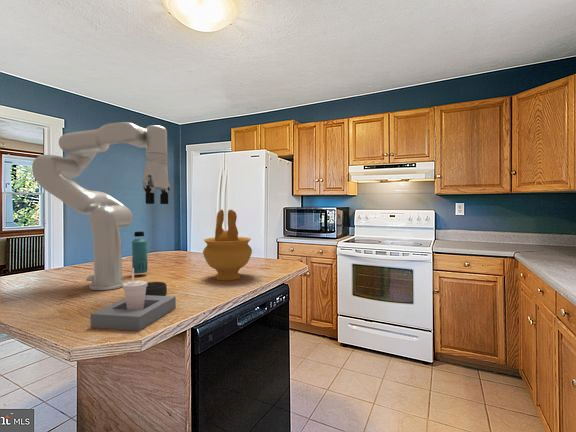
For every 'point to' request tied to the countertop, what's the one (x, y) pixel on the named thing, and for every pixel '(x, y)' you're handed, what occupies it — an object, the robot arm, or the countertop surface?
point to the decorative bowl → (227, 248)
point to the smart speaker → (156, 288)
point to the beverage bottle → (139, 254)
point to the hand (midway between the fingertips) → (157, 203)
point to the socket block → (132, 313)
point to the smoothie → (135, 293)
